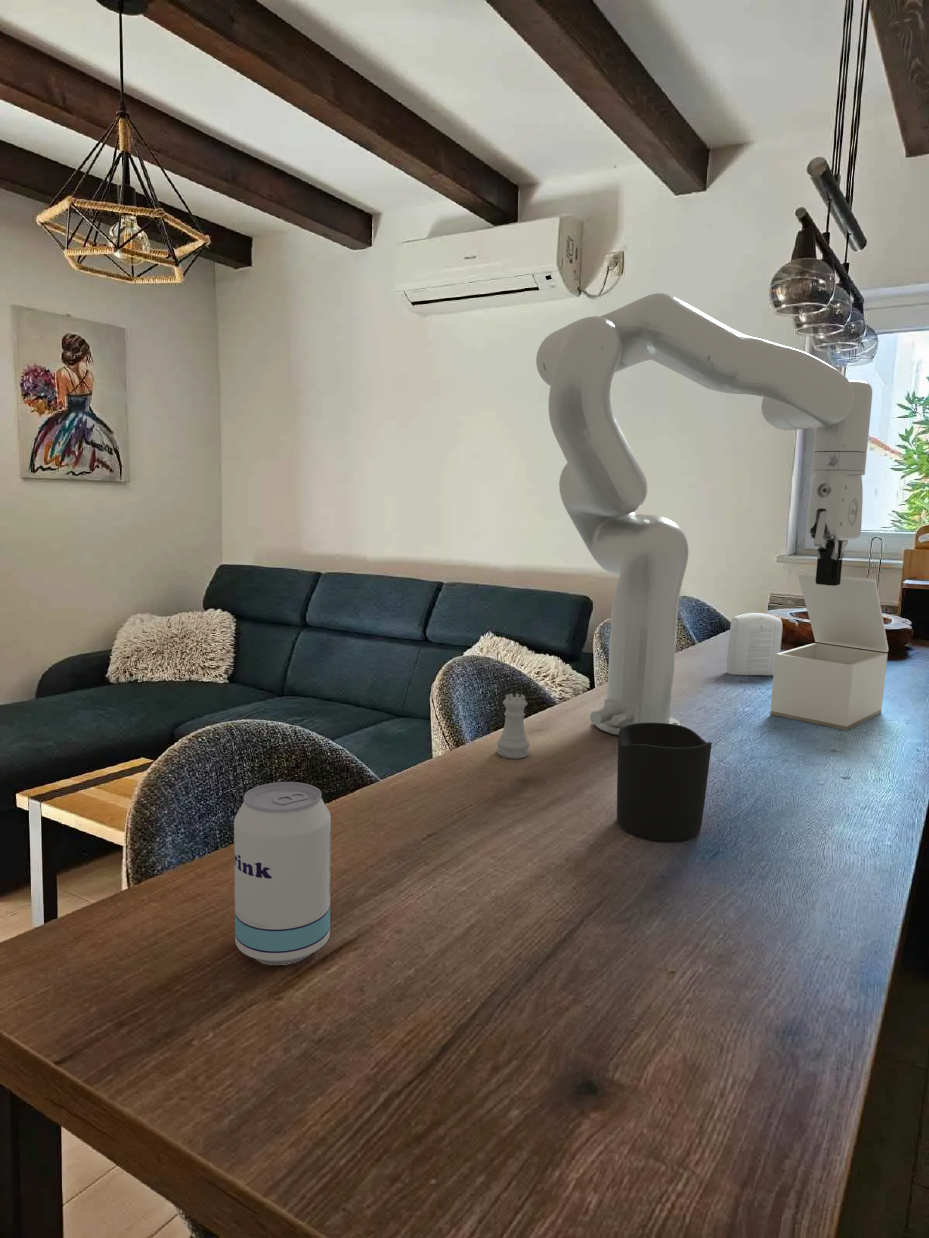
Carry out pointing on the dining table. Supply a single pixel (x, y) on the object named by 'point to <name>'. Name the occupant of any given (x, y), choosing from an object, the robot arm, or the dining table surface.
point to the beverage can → (282, 872)
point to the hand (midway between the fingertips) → (827, 584)
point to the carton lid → (845, 612)
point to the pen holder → (661, 781)
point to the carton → (828, 685)
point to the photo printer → (753, 644)
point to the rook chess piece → (513, 729)
